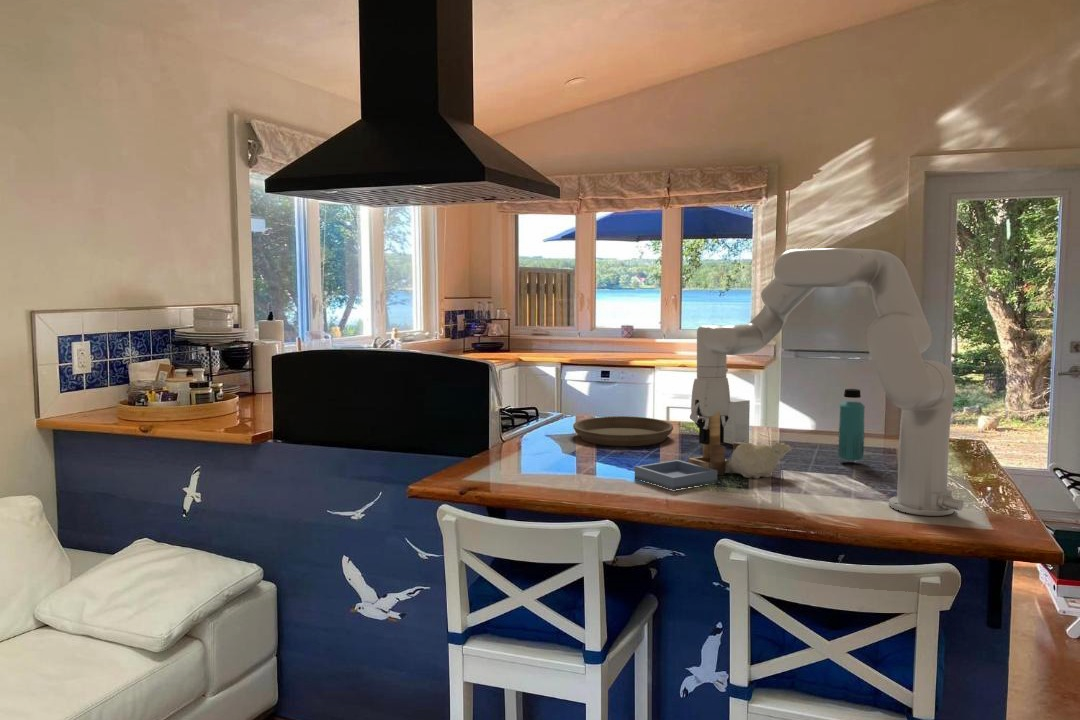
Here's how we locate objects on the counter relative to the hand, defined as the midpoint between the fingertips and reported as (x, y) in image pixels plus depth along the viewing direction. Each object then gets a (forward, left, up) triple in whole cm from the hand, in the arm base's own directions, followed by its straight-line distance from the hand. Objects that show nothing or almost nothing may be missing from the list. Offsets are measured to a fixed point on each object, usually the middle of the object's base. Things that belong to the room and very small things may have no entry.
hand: (711, 441), depth 210 cm
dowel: (0, 0, -4) cm, 4 cm away
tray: (-6, +18, -7) cm, 20 cm away
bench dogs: (-6, 0, -7) cm, 9 cm away
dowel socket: (+1, 0, -7) cm, 7 cm away
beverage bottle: (-16, -35, -7) cm, 39 cm away
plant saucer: (+45, -6, -7) cm, 46 cm away
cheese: (-13, -4, -7) cm, 15 cm away
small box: (+22, -30, -7) cm, 38 cm away
